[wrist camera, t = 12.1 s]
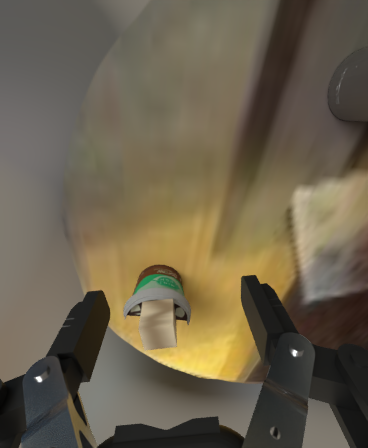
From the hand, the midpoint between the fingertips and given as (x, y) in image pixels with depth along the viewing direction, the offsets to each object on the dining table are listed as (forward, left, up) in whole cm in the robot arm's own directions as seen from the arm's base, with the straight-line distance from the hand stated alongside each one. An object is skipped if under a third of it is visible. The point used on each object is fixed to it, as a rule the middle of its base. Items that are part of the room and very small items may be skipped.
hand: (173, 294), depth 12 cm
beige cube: (+4, +20, -17) cm, 26 cm away
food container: (+4, +20, -27) cm, 33 cm away
